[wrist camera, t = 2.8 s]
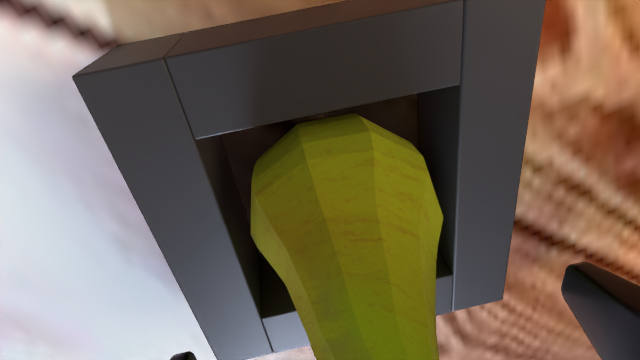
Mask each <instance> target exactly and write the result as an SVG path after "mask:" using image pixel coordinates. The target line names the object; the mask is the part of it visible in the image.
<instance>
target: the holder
mask: <svg viewBox="0 0 640 360" xmlns="http://www.w3.org/2000/svg"><path fill="white" fill-rule="evenodd" d="M545 2H546V0H348V1H343V2H338V3H333V4H327V5H322V6H317V7H312V8H307V9H302V10H297V11H292V12H287V13H281V14H276V15H271V16H266V17H261V18H256V19H251V20H246V21H241V22H235V23H230V24H225V25H220V26H215V27H210V28H205V29H200V30H195V31H189V32H187V33H179V34H174V35H169V36H164V37H159V38H154V39H149V40H144V41H138V42H133V43H128V44H123V45H118V46H117V47H115V48H114V49H112V50H111V51H109V52H108V53H106V54H105V55H103V56H102V57H100V58H99V59H97V60H96V61H94V62H93V63H91V64H90V65H88V66H87V67H85V68H84V69H82V70H81V71H79V72H78V73H76V74H75V75H73V76H72V78H73V80H74V82H75V84H76V86H77V88H78V90H79V92H80V94H81V96H82V98H83V100H84V102H85V104H86V106H87V107H88V109H89V111H90V113H91V115H92V117H93V119H94V121H95V123H96V125H97V127H98V129H99V131H100V133H101V135H102V137H103V139H104V141H105V143H106V144H107V146H108V148H109V150H110V152H111V154H112V156H113V158H114V160H115V162H116V164H117V166H118V168H119V170H120V172H121V174H122V176H123V178H124V179H125V181H126V183H127V185H128V187H129V189H130V191H131V193H132V195H133V197H134V199H135V201H136V203H137V205H138V207H139V209H140V211H141V213H142V214H143V216H144V218H145V220H146V222H147V224H148V226H149V228H150V230H151V232H152V234H153V236H154V238H155V240H156V242H157V244H158V246H159V248H160V249H161V251H162V253H163V255H164V257H165V259H166V261H167V263H168V265H169V267H170V269H171V271H172V273H173V275H174V277H175V279H176V281H177V283H178V285H179V286H180V288H181V290H182V292H183V294H184V296H185V298H186V300H187V302H188V304H189V306H190V308H191V310H192V312H193V314H194V316H195V318H196V320H197V321H198V323H199V325H200V327H201V329H202V331H203V333H204V335H205V337H206V339H207V341H208V343H209V345H210V347H211V349H212V351H213V353H214V355H215V356H216V358H217V360H247V359H251V358H255V357H260V356H264V355H268V354H272V353H273V352H274V353H278V352H282V351H286V350H291V349H295V348H299V347H303V346H308V345H310V342H309V339H308V337H307V334H306V331H305V329H304V327H303V324H302V322H301V319H300V317H299V315H298V312H297V310H296V308H295V305H294V303H293V301H292V298H291V296H290V294H289V291H288V289H287V287H286V285H285V283H284V282H283V281H282V279H281V278H280V276H279V275H278V274H277V272H276V271H275V270H274V268H273V267H272V266H271V264H270V263H269V262H268V260H267V259H266V258H265V257H264V255H261V256H260V254H259V251H258V248H257V246H256V244H255V242H254V240H253V238H252V236H251V227H250V224H249V221H248V218H247V215H246V212H245V209H244V206H243V203H242V200H241V197H240V194H239V191H238V188H237V185H236V182H235V179H234V176H233V173H232V170H231V166H230V163H229V160H228V157H227V154H226V151H225V148H224V145H223V142H222V139H221V136H220V134H224V133H229V132H234V131H238V130H243V129H248V128H253V127H258V126H263V125H267V124H272V123H277V122H282V121H287V120H291V119H296V118H301V117H306V116H311V115H316V114H320V113H325V112H330V111H335V110H340V109H345V108H349V107H354V106H359V105H364V104H369V103H373V102H378V101H383V100H388V99H393V98H398V97H402V96H407V95H412V94H417V107H418V150H419V152H420V154H421V155H422V156H423V158H424V161H425V164H426V167H427V170H428V173H429V175H430V178H431V181H432V184H433V187H434V190H435V193H436V196H437V199H438V202H439V205H440V208H441V211H442V214H443V222H442V227H441V232H440V237H439V242H438V249H437V259H436V303H435V308H436V316H437V315H441V314H445V313H449V312H451V310H452V311H456V310H460V309H465V308H469V307H473V306H478V305H482V304H486V303H490V302H495V301H499V300H502V299H503V292H504V285H505V279H506V272H507V265H508V258H509V251H510V244H511V237H512V230H513V223H514V216H515V209H516V203H517V196H518V189H519V182H520V175H521V168H522V161H523V154H524V147H525V140H526V133H527V126H528V120H529V113H530V106H531V99H532V92H533V85H534V78H535V71H536V64H537V57H538V50H539V44H540V37H541V30H542V23H543V16H544V9H545Z"/></svg>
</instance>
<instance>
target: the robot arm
mask: <svg viewBox="0 0 640 360" xmlns="http://www.w3.org/2000/svg"><path fill="white" fill-rule="evenodd" d="M561 291H562V295H563V297H564V299H565V301H566V303H567V304H568V306H569V308H570V309H571V311H572V312H573V314H574V316H575V317H576V319H577V321H578V322H579V324H580V325H581V327H582V329H583V330H584V332H585V334H586V335H587V337H588V339H589V340H590V342H591V343H592V345H593V347H594V348H595V350H596V351H597V353H598V354H599V356H600V358H601V359H602V360H640V286H639V285H637V284H634V283H632V282H630V281H628V280H626V279H624V278H621V277H619V276H617V275H615V274H613V273H611V272H609V271H606V270H604V269H602V268H600V267H598V266H596V265H593V264H591V263H589V262H579V263H575V264H571V265H569V266H568V267H567V268H566V271H565V275H564V279H563V283H562V287H561ZM170 360H197V359H196V357H195V356H194V354H193V353H192V352H190V351H189V352H184V353H180V354H176V355H174V356H173V357H172V358H171V359H170Z"/></svg>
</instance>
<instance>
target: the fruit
mask: <svg viewBox="0 0 640 360" xmlns="http://www.w3.org/2000/svg"><path fill="white" fill-rule="evenodd" d="M442 222H443V214H442V211H441V208H440V205H439V202H438V199H437V196H436V193H435V190H434V187H433V184H432V181H431V178H430V175H429V173H428V170H427V167H426V164H425V161H424V158H423V156H422V155H421V154H420V152H419V151H418V150H417V149H416V148H415V147H414V146H413V145H412V143H411V142H409V141H407V140H405V139H404V138H402V137H400V136H398V135H396V134H394V133H392V132H390V131H388V130H386V129H384V128H382V127H380V126H378V125H376V124H375V123H373V122H371V121H369V120H367V119H365V118H363V117H361V116H359V115H357V114H355V113H350V114H345V115H340V116H334V117H329V118H324V119H318V120H313V121H308V122H302V123H298V124H296V125H295V126H294V127H293V128H292V129H291V130H290V131H289V132H287V133H286V134H285V135H284V136H283V137H282V138H281V139H280V140H278V141H277V142H276V143H275V144H274V145H273V146H272V147H271V148H269V149H268V150H267V151H266V152H265V153H264V154H263V155H262V156H260V157H259V158H258V160H257V162H256V164H255V166H254V170H253V175H252V181H251V236H252V238H253V240H254V242H255V244H256V246H257V248H258V249H259V250H260V251H261V253H262V254H263V255H264V257H265V258H266V259H267V260H268V262H269V263H270V264H271V266H272V267H273V268H274V270H275V271H276V272H277V274H278V275H279V276H280V278H281V279H282V281H283V282H284V283H285V285H286V287H287V289H288V291H289V294H290V296H291V298H292V301H293V303H294V305H295V308H296V310H297V312H298V315H299V317H300V319H301V322H302V324H303V327H304V329H305V331H306V334H307V337H308V339H309V342H310V345H311V347H312V350H313V353H314V355H315V357H316V359H317V360H439V353H438V344H437V336H436V308H435V303H436V259H437V249H438V242H439V237H440V232H441V227H442Z"/></svg>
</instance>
